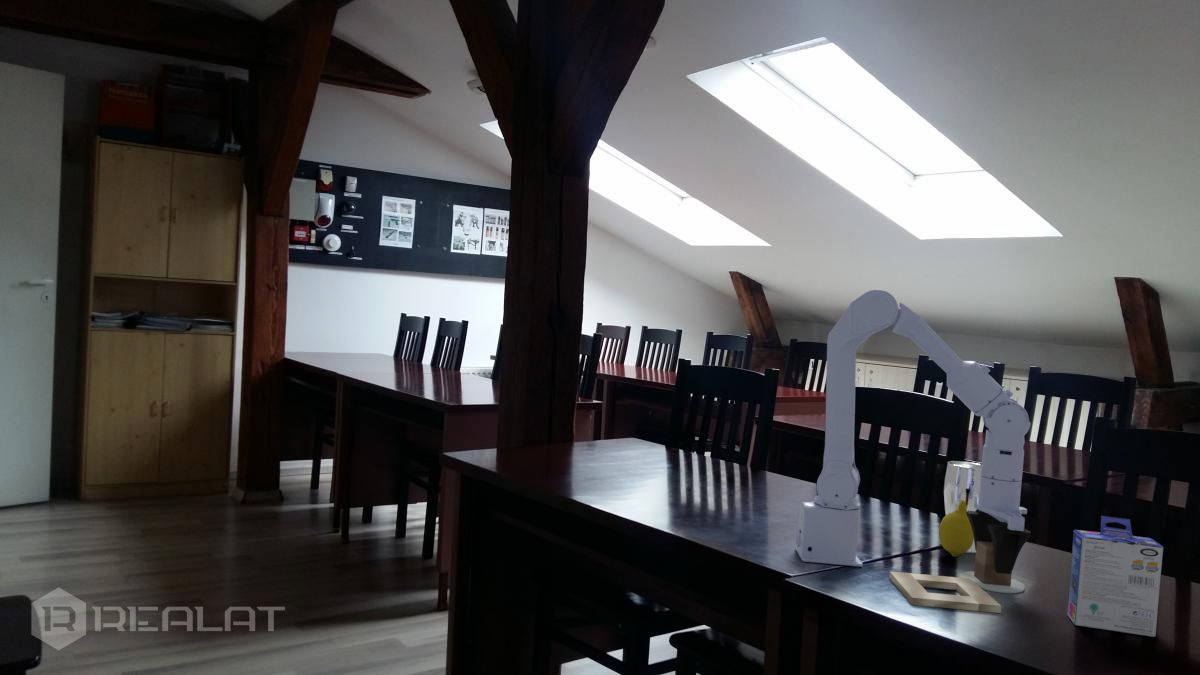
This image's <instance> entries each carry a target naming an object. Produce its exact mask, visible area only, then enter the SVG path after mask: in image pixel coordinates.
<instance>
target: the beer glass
mask: <svg viewBox="0 0 1200 675" xmlns="http://www.w3.org/2000/svg"><path fill="white" fill-rule="evenodd" d="M981 467H982V463H975V462H970V461H961V460H959V461H958V460H956V461H955V460H950V461H947V466H946V472H945V476H944V485H943V496H944V497H943V498H944V511H945V516H946V515H947V514H949V513H952V512H955V511H956V510H959V511H961V512H962V513H963V514H965V515H966V511H976V510H977V508H975V507H974V501H975V496H979V490H980V478H981ZM966 516H967V515H966ZM964 554H976V550H975V543H974V541H973V544H972V546H971V547H970V549H969V550H968V551H966V552H965V553H964Z"/></svg>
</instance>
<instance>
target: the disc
mask: <svg viewBox="0 0 1200 675" xmlns="http://www.w3.org/2000/svg"><path fill="white" fill-rule="evenodd" d="M959 578H969V579H971V580H972V581H974V582H975V583H976V584H977V585H978V586H979V587H980V588H981V589H983V590H984V591H988V592H993V593H999V594H1000V593H1001V594H1020V593H1023V592H1024V591H1025V584H1024V583H1022V582H1020V581H1018V580H1017V579H1014V578H1012V577H1011V586H1002V585H991V584H983V583H982V582H981V581H980V580H978V579H977V578H976V577H975V576H974V571H964V572H962V573H960V576H959Z"/></svg>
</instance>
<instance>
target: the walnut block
mask: <svg viewBox="0 0 1200 675" xmlns="http://www.w3.org/2000/svg"><path fill="white" fill-rule="evenodd" d="M974 559H975V560H974V571H973V572H974V576H975V577H976V578H977V579H978V580H980V581H981V582H982V583H983V584H991V585H1002V586H1011V578H1012V573H1011V574H1002V573H997V572H995V567H994V549H993V542H984V541H977V547H976V553H975V558H974Z"/></svg>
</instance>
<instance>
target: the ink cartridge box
mask: <svg viewBox="0 0 1200 675" xmlns="http://www.w3.org/2000/svg"><path fill="white" fill-rule="evenodd" d="M1110 523H1111V524H1113V523H1117V524H1120V525H1123V526H1125V529H1123V528H1118V527H1117V528H1116V527H1111V526H1110V527H1108V526H1107V525H1106V524H1110ZM1131 525H1132V524H1131V519H1128V518H1121V517H1114V516H1113V517H1112V516H1106V515H1100V532H1099V531H1091V530H1089V531H1088V530H1081V529H1080V530H1079V529H1074V530H1073V534H1072V554H1071V567H1070V582H1069V592H1068V593H1069V594H1068V595H1069V596H1068V604H1067V605H1068V606H1067V616H1068V618H1069V619H1070V620H1071V622H1072V623H1073V625H1075V626H1080V627H1087V628H1093V629H1098V630H1099V629H1101V630H1104V631H1105V630H1107V631H1112V632H1120V633H1125V634H1132V635H1139V636H1145V637H1146V636H1147V637H1151V638H1155V637H1156V636H1157V622H1158V610H1159V599H1160V598H1159V597H1160V586H1161V576H1162V575H1161V574H1162V566H1163V555H1164V546H1163V545H1161V544H1160V543H1159V542H1157V541H1156V540H1154V539H1153V538H1151V537H1143V536H1135V535H1133V531H1132V526H1131Z"/></svg>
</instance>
